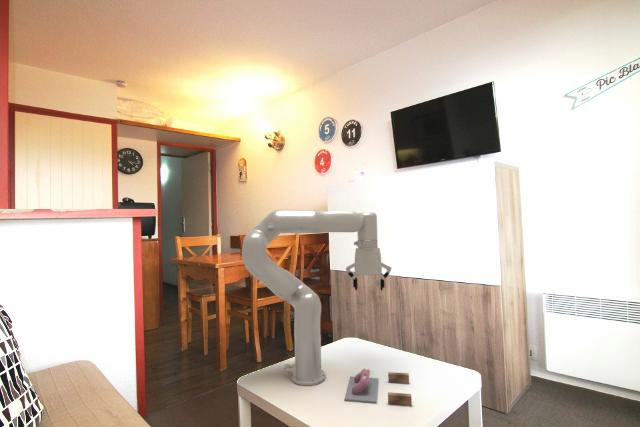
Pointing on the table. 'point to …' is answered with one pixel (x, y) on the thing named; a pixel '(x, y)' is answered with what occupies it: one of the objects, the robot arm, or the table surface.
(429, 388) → the table surface
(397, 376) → the dock
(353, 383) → the mat
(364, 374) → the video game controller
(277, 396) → the table surface
